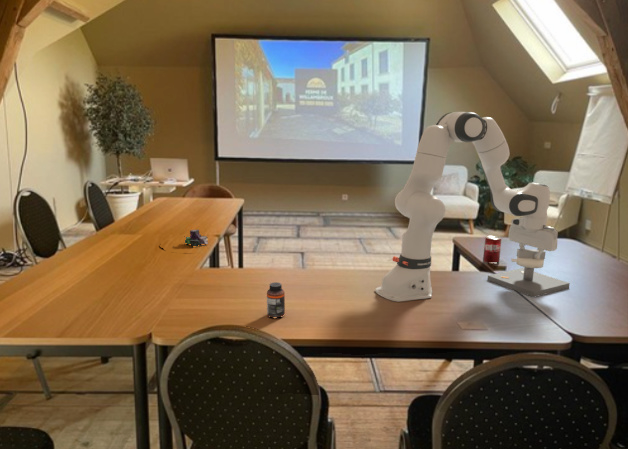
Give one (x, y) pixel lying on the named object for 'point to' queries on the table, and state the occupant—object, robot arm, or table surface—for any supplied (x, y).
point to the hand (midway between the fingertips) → (530, 256)
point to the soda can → (492, 249)
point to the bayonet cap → (529, 258)
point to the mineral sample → (196, 238)
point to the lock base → (528, 281)
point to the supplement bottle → (275, 300)
